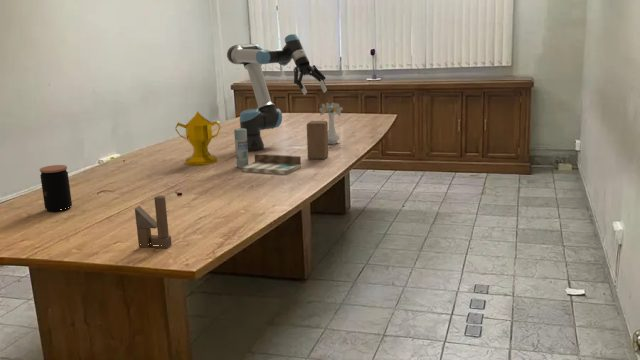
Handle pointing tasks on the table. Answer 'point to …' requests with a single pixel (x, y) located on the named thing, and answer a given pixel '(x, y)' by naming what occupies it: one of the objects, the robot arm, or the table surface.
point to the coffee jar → (55, 188)
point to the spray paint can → (241, 147)
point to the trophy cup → (199, 140)
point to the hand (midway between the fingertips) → (315, 92)
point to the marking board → (273, 164)
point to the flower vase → (331, 120)
